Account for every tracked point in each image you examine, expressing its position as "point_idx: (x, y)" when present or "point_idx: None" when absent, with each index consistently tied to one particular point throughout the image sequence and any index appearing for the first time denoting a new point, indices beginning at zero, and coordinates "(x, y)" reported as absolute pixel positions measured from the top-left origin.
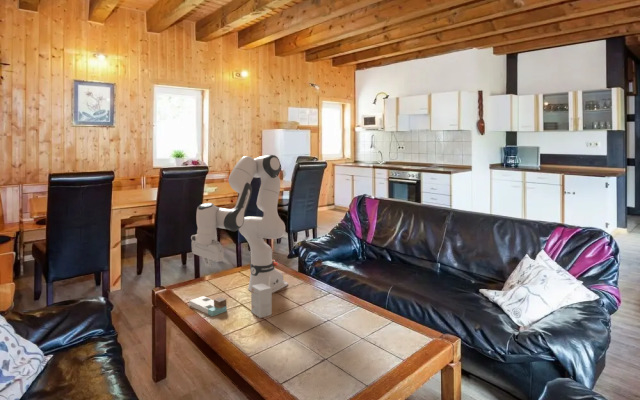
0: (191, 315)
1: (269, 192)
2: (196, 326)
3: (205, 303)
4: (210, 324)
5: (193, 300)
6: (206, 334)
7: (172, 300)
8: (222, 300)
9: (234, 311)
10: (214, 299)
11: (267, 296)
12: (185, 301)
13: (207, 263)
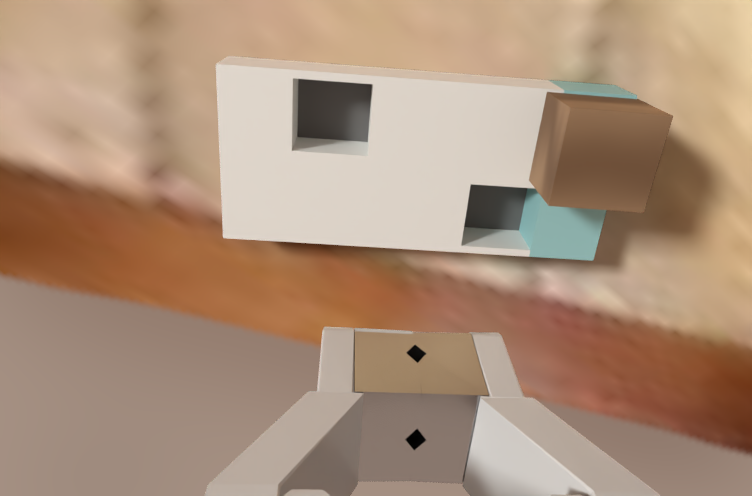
0: (420, 321)
1: None
2: (592, 398)
3: (408, 189)
4: (660, 330)
5: (251, 213)
6: (729, 423)
7: (13, 239)
8: (651, 165)
9: (691, 41)
10: (553, 201)
11: None
12: (116, 181)
13: (438, 474)
